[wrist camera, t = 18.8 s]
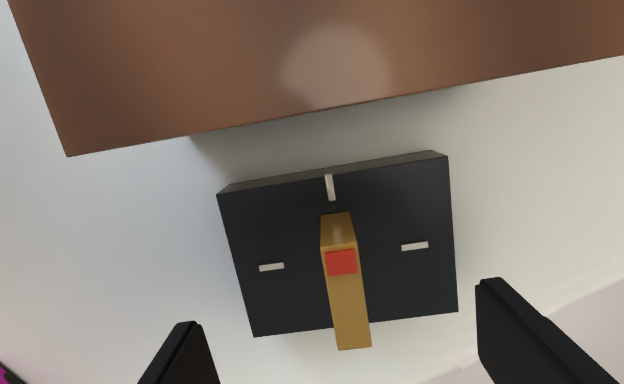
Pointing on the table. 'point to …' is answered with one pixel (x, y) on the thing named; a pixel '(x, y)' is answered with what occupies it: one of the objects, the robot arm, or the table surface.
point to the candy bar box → (7, 377)
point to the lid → (282, 56)
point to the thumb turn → (344, 281)
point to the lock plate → (369, 234)
